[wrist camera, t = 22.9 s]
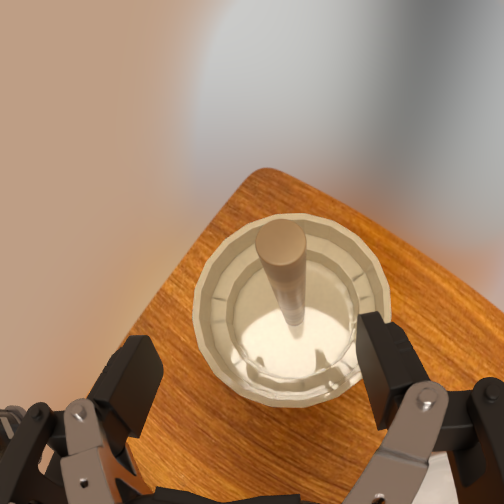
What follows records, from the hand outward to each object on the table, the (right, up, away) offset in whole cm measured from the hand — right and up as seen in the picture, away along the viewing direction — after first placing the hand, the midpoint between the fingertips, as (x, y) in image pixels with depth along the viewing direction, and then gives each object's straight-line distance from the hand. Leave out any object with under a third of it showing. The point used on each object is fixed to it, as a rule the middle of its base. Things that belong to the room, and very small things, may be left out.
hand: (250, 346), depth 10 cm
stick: (+4, -2, +15) cm, 16 cm away
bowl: (+4, -3, +16) cm, 16 cm away
